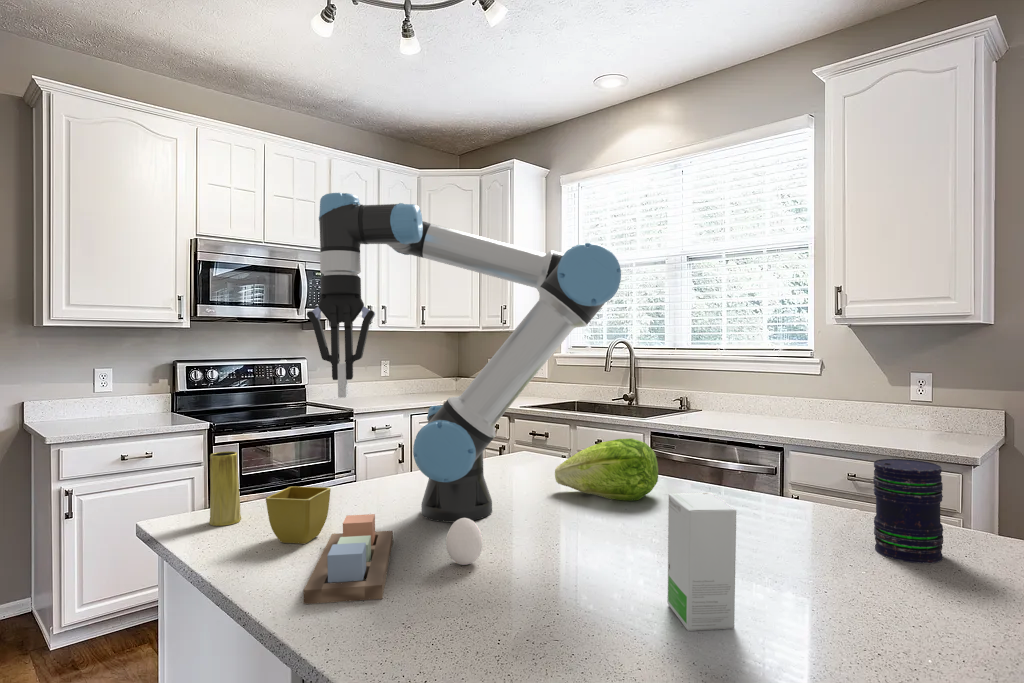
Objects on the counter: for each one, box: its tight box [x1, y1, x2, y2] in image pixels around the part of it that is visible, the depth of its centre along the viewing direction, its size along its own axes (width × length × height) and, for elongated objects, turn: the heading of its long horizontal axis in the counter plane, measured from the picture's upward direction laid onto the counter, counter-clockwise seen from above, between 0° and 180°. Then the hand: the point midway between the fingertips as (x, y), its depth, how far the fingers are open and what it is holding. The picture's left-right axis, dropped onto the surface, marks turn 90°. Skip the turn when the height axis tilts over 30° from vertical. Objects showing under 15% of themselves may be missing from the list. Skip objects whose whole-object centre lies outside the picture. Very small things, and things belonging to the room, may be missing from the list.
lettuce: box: [554, 438, 659, 502], centre depth 147 cm, size 14×24×15 cm
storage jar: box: [872, 458, 944, 565], centre depth 106 cm, size 10×10×15 cm
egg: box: [445, 518, 484, 566], centre depth 104 cm, size 6×6×8 cm
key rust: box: [342, 513, 376, 545], centre depth 111 cm, size 5×5×4 cm
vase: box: [208, 450, 242, 527], centre depth 131 cm, size 6×6×14 cm
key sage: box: [337, 535, 371, 562], centre depth 103 cm, size 5×5×4 cm
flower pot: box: [265, 485, 331, 545], centre depth 118 cm, size 9×9×9 cm
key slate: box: [327, 543, 366, 583], centre depth 95 cm, size 5×5×4 cm
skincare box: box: [666, 491, 737, 632], centre depth 83 cm, size 8×7×16 cm
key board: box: [302, 530, 394, 605], centre depth 103 cm, size 11×26×2 cm, turn 7°
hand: (343, 396), depth 122 cm, fingers closed
